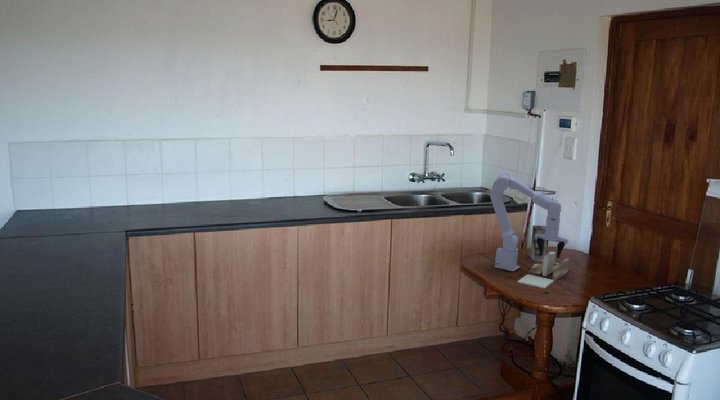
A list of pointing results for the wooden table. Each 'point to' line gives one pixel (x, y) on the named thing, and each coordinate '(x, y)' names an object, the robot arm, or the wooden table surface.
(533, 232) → the coffee box
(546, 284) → the mat
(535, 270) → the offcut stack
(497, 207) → the robot arm
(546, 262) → the gray rectangular slab
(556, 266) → the corner fence
